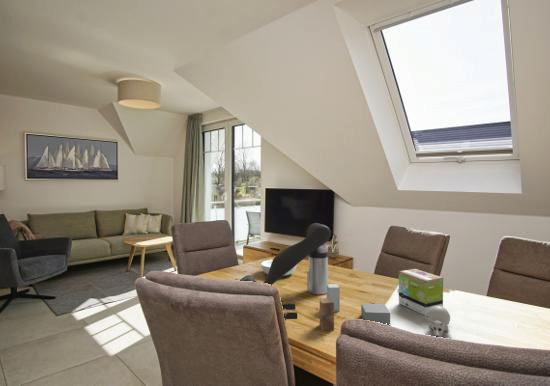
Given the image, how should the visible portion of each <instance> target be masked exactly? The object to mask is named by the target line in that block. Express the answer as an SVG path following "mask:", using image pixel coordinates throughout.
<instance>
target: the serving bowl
mask: <svg viewBox="0 0 550 386" xmlns="http://www.w3.org/2000/svg"><path fill="white" fill-rule="evenodd" d="M273 259H274V258H273ZM273 259H267V260H264V261H262V262H261V264H260V266H261V270H262V271H263V272H264V273H265V274H266V275H268V273H269V270H270V267H271V264H272V261H273ZM297 267H298V264H297V265H296V266H295V267H294V268H292V269H291V270H290V271H289V272H287V273H286V274H285V275H284V276H283V277H285V276H289V275H291V274H293V273H294V272H296V269H297Z"/></svg>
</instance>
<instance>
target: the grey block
mask: <svg viewBox="0 0 550 386" xmlns="http://www.w3.org/2000/svg"><path fill="white" fill-rule="evenodd" d="M360 306H361V308H360V311H361V312H360V314H361V318H362V320H363V319H364V320H370V321H375V322H380V323H383V324H386V323H387V325H386V326H390V325H391V312H390V310H389V309H388V307H387V306H386V304H385V303H361V305H360ZM364 320H363V321H364ZM389 324H390V325H389Z"/></svg>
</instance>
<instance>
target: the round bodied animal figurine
mask: <svg viewBox="0 0 550 386" xmlns="http://www.w3.org/2000/svg"><path fill="white" fill-rule="evenodd" d="M427 319H428V321H429V322H430V323H429V325H430V328H431V329H432V330H433V335H434V336H435V337H436V336H438V337H440V338H442V337H443V336H444V335H443V333H446V332H448V331H449V329H450V328H449V325H450V321H451V315H450V313H449V311H448V310H447V309H446V308H445V307H444V306H443V307H442V306H433V307H431V308H430V309H429V311H428V316H427ZM438 337H437V338H438Z"/></svg>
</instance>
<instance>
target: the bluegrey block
mask: <svg viewBox="0 0 550 386" xmlns="http://www.w3.org/2000/svg"><path fill="white" fill-rule="evenodd" d="M340 288H341V287H340V286H339V284H338V283H334V284H333V283H328V284H327V293H326V298H332V300H333V302H334V312H340V310H341V309H340V306H341V305H340V304H341V303H340V299H341V298H340V297H341V295H340V294H341V292H340Z"/></svg>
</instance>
